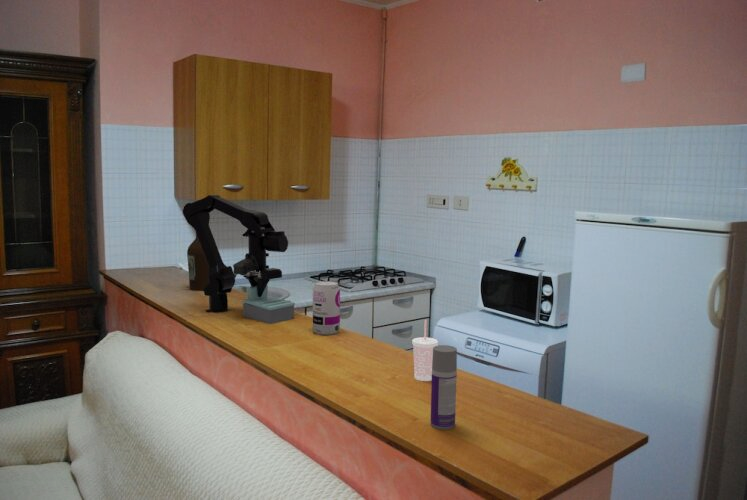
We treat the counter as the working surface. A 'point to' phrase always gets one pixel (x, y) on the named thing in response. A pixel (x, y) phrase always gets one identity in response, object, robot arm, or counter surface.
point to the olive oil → (197, 266)
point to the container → (443, 387)
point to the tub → (268, 313)
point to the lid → (265, 300)
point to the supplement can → (326, 307)
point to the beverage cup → (423, 356)
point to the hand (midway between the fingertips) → (257, 296)
